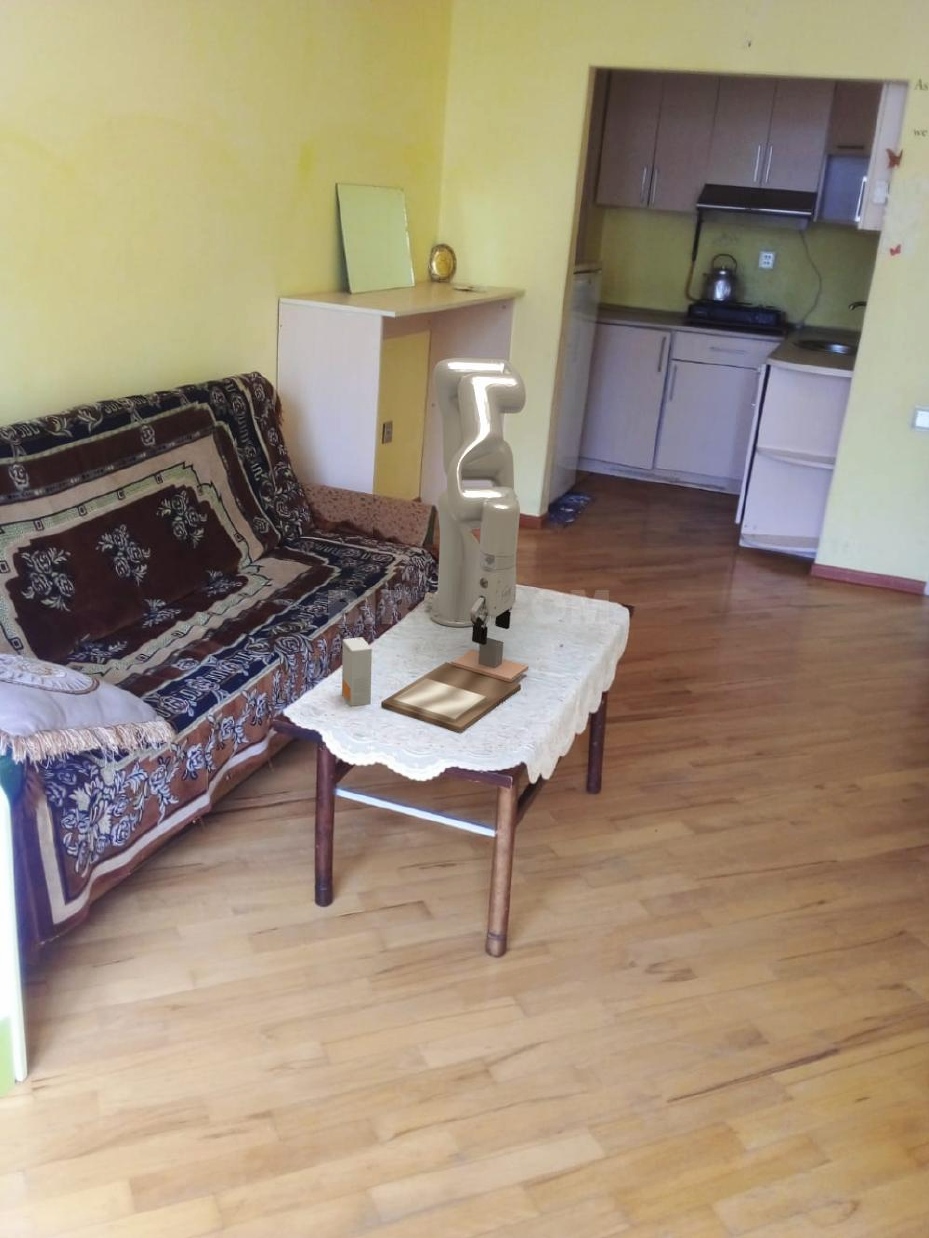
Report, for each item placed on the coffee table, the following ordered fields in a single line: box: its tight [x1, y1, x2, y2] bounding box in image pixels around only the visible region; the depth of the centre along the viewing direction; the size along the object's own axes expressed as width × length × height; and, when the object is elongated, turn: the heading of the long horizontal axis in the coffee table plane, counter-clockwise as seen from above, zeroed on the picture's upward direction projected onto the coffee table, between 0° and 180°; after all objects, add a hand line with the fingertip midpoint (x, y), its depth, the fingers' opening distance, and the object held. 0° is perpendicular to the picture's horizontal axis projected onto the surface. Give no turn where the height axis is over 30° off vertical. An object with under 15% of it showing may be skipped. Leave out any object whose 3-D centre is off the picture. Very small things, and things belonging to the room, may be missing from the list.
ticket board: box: [380, 661, 522, 734], centre depth 220 cm, size 18×24×2 cm
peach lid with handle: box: [451, 637, 529, 682], centre depth 231 cm, size 14×8×6 cm, turn 59°
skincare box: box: [341, 636, 373, 707], centre depth 215 cm, size 6×4×12 cm
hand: (490, 635), depth 230 cm, fingers open, 9 cm apart
